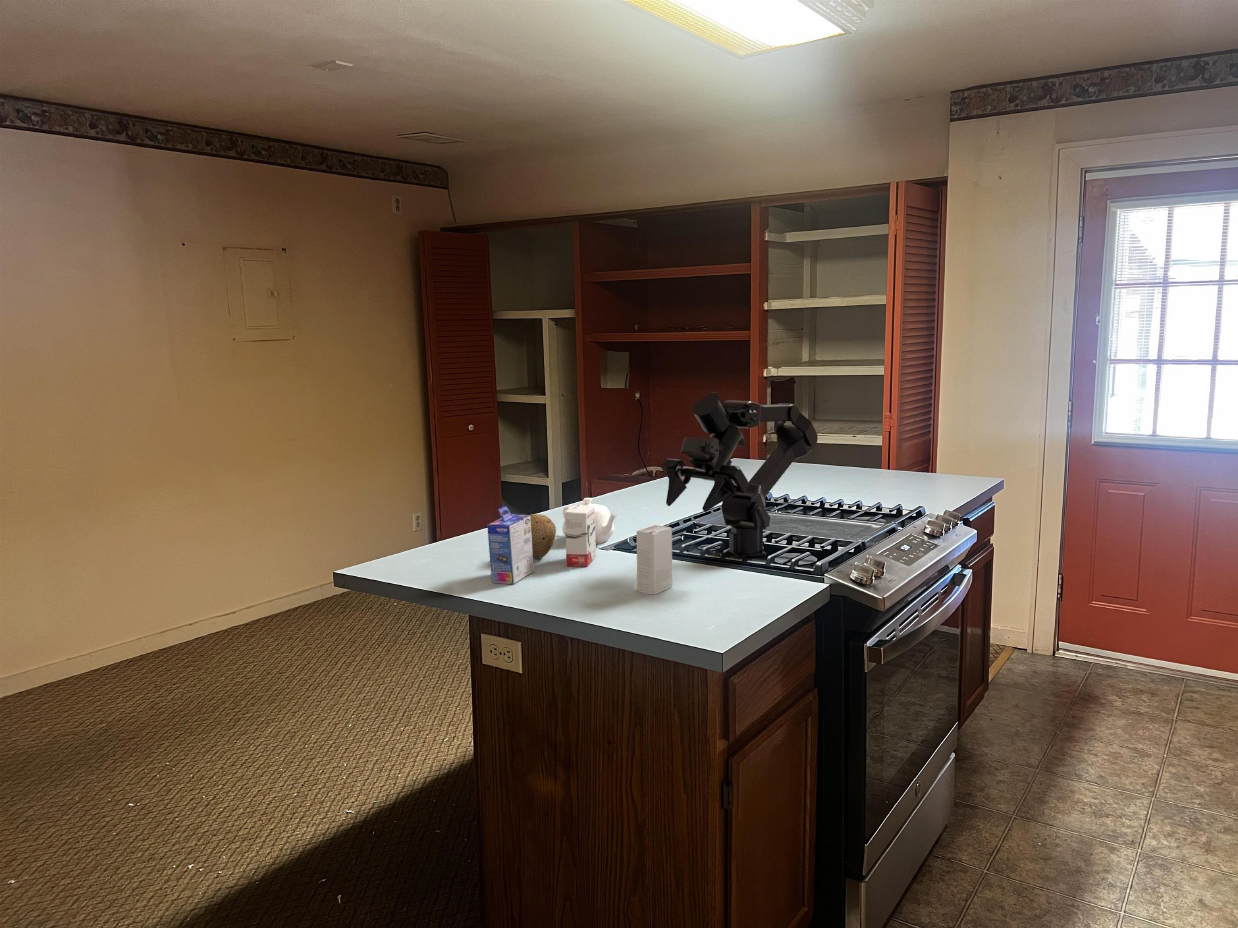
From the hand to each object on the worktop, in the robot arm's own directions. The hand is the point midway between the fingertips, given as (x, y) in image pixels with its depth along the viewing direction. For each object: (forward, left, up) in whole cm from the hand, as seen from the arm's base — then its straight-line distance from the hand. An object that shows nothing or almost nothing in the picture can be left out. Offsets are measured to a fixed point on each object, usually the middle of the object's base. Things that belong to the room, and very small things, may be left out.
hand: (685, 507), depth 174 cm
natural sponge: (+27, -24, -14) cm, 39 cm away
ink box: (+18, -18, -14) cm, 29 cm away
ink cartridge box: (+34, -11, -14) cm, 38 cm away
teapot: (+12, -36, -14) cm, 40 cm away
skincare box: (+9, +7, -14) cm, 18 cm away
